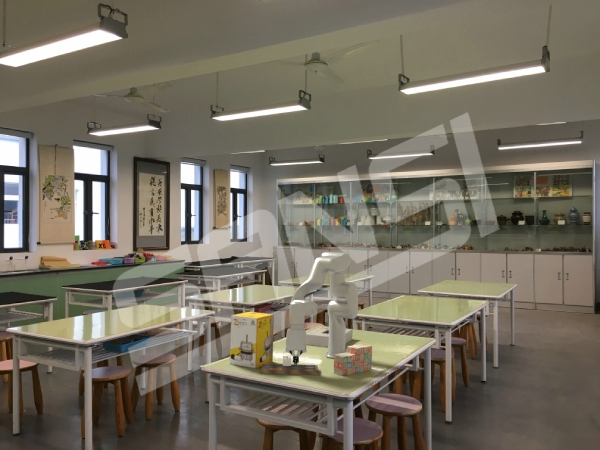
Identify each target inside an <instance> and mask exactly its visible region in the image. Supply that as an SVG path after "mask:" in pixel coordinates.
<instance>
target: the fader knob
mask: <svg viewBox="0 0 600 450" xmlns="http://www.w3.org/2000/svg"><path fill="white" fill-rule="evenodd" d="M282 364H283V366H286V367H288V366H291V364H292V355H290V356H289V355H282Z"/></svg>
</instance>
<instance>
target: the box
mask: <svg viewBox="0 0 600 450" xmlns="http://www.w3.org/2000/svg"><path fill="white" fill-rule="evenodd" d="M353 331H354V330H353V329H348V328H346V332H345V345H346V344H347V343H349V342H351V341H352V340H353V338H352V337H353V334H354V333H353ZM306 342H307V346H315V347H322V348H328V342H329V326H319V327H317V328H316V329H313V330H311V331H308V332H306Z"/></svg>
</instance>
